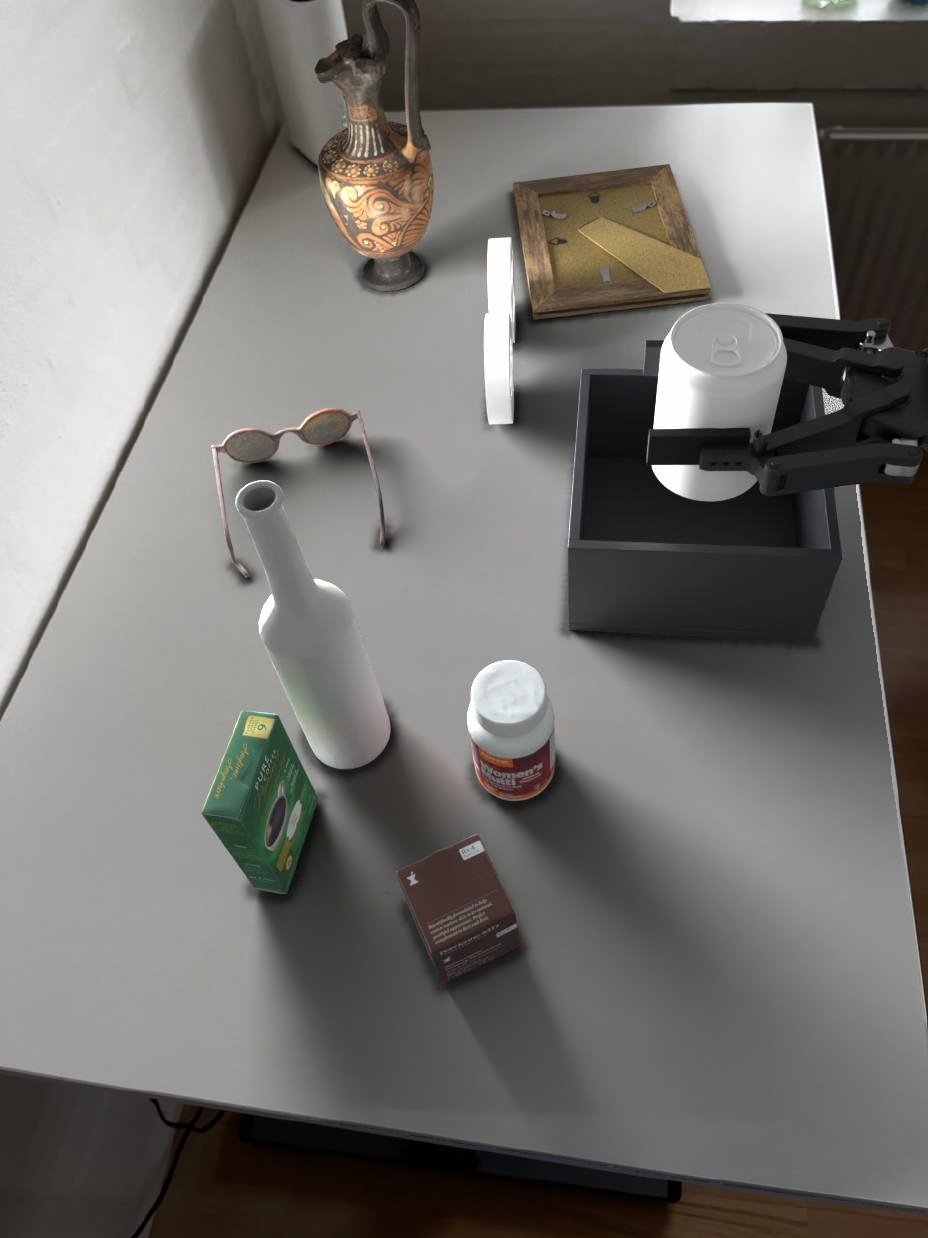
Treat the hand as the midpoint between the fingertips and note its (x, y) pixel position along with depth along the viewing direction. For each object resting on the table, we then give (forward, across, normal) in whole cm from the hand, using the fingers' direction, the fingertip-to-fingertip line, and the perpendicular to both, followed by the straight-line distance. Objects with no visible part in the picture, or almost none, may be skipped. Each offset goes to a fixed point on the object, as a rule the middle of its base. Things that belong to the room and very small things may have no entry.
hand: (646, 401), depth 69 cm
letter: (+12, +26, -20) cm, 35 cm away
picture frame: (+2, +46, -20) cm, 51 cm away
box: (+12, -31, -20) cm, 39 cm away
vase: (+25, +42, -20) cm, 53 cm away
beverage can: (-5, 0, -7) cm, 8 cm away
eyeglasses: (+30, +8, -20) cm, 37 cm away
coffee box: (+26, -25, -20) cm, 41 cm away
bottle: (+23, -16, -20) cm, 34 cm away
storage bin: (-5, +3, -20) cm, 21 cm away
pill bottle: (+9, -19, -20) cm, 29 cm away
